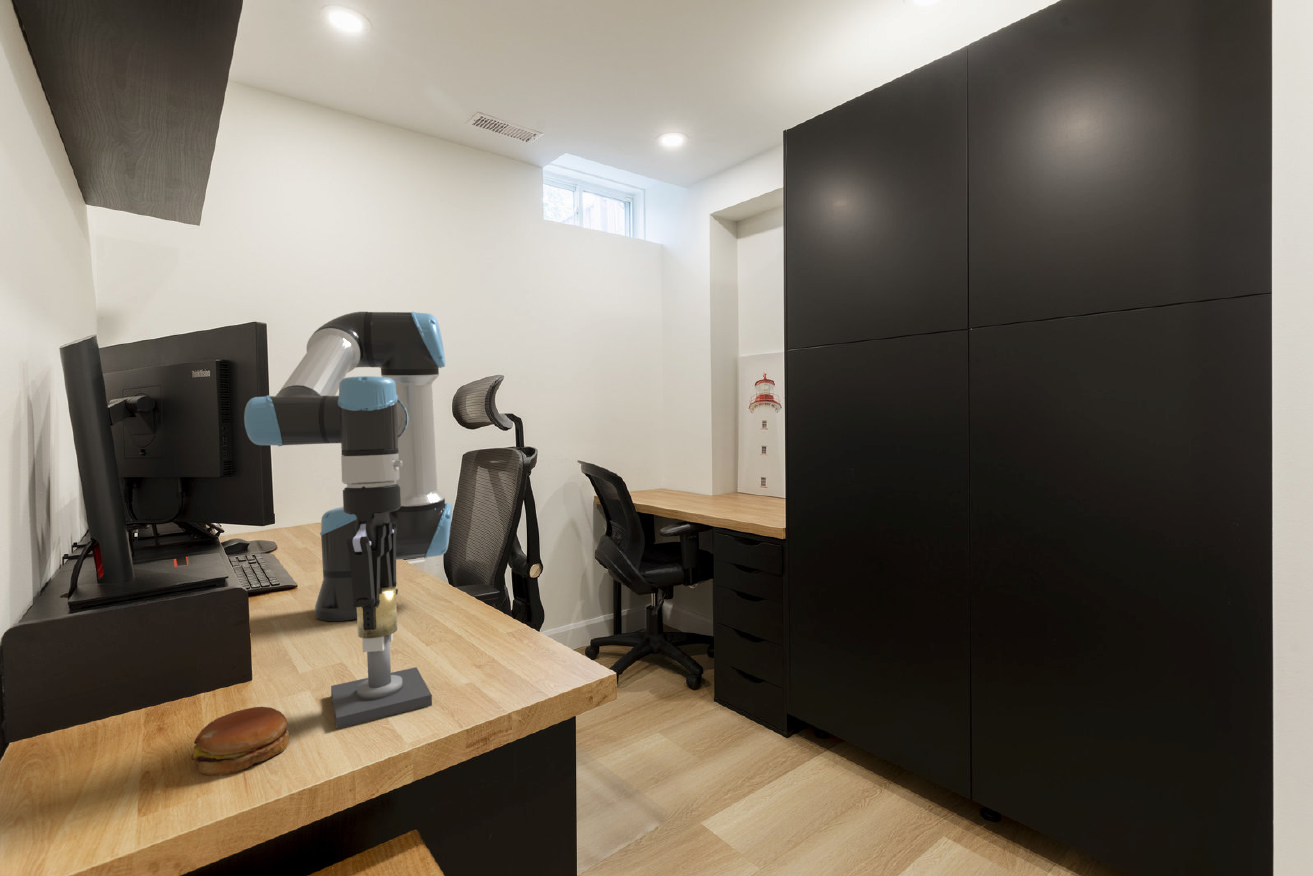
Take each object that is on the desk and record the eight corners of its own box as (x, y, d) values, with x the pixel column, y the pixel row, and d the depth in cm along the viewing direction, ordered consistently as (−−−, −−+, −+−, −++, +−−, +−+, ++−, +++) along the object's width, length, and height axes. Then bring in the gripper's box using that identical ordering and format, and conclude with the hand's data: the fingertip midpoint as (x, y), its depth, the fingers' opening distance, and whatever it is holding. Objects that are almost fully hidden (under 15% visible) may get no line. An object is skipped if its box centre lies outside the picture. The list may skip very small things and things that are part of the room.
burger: (306, 738, 78) (304, 702, 78) (244, 781, 69) (241, 740, 69) (241, 733, 80) (239, 698, 80) (172, 774, 71) (170, 734, 71)
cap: (356, 630, 89) (354, 586, 89) (394, 623, 92) (392, 580, 92) (359, 641, 85) (357, 594, 84) (399, 633, 87) (398, 587, 87)
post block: (331, 696, 90) (328, 629, 90) (416, 676, 97) (414, 614, 96) (336, 729, 80) (333, 654, 80) (432, 705, 86) (429, 635, 86)
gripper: (379, 489, 80) (386, 665, 80) (415, 478, 96) (421, 626, 97) (319, 491, 79) (326, 669, 80) (365, 480, 95) (371, 629, 96)
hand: (378, 645), depth 88 cm, fingers closed on cap, post block, 3 cm apart
